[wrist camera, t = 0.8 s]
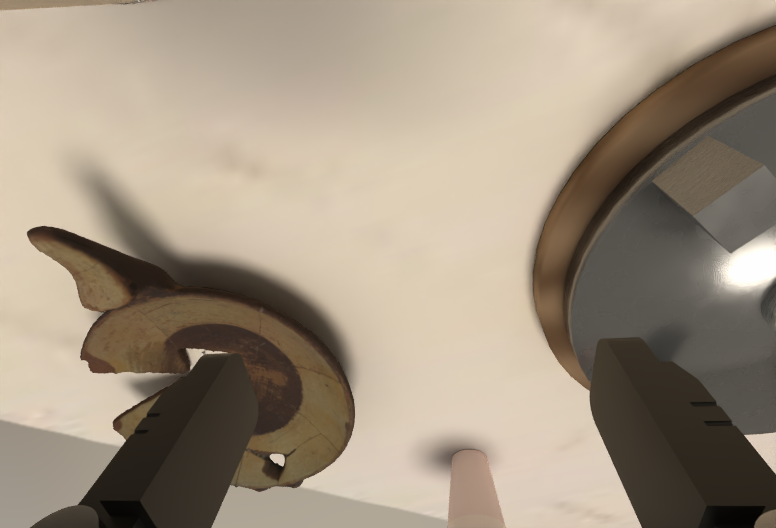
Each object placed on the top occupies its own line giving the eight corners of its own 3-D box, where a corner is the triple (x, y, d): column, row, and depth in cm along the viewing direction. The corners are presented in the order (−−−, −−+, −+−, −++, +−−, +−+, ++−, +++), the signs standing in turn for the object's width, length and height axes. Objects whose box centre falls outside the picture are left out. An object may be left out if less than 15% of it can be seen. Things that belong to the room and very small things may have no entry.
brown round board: (552, 41, 22) (563, 46, 20) (1250, -47, 19) (1339, -51, 17) (522, 403, 39) (527, 424, 37) (890, 395, 35) (916, 417, 33)
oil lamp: (152, 431, 45) (108, 504, 39) (49, 170, 29) (-57, 222, 22) (356, 453, 45) (345, 530, 39) (372, 202, 28) (358, 265, 22)
